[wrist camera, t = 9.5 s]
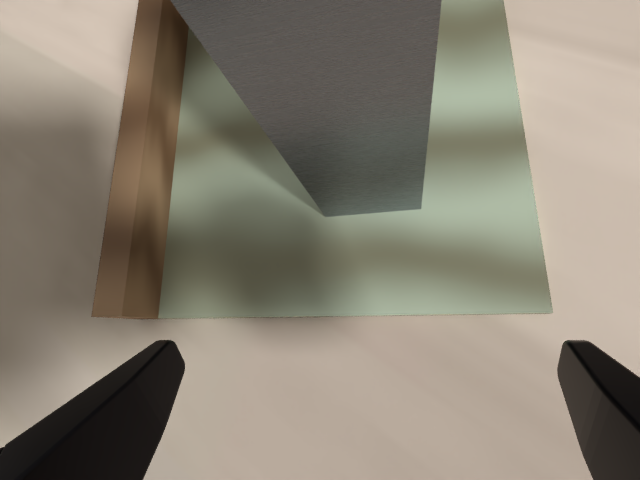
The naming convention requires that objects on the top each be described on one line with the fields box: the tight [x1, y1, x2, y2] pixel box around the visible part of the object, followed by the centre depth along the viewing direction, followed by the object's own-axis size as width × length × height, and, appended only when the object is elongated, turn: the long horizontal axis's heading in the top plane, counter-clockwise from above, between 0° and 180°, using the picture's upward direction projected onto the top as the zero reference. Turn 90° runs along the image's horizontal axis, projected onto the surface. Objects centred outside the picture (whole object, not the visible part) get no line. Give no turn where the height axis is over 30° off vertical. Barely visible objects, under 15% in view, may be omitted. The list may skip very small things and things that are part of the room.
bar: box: [170, 0, 442, 217], centre depth 12 cm, size 4×4×13 cm
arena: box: [92, 0, 553, 319], centre depth 18 cm, size 20×20×3 cm
